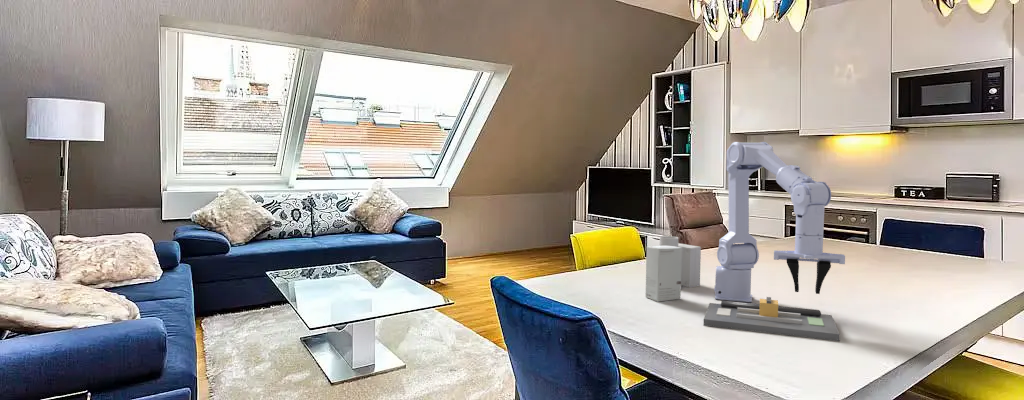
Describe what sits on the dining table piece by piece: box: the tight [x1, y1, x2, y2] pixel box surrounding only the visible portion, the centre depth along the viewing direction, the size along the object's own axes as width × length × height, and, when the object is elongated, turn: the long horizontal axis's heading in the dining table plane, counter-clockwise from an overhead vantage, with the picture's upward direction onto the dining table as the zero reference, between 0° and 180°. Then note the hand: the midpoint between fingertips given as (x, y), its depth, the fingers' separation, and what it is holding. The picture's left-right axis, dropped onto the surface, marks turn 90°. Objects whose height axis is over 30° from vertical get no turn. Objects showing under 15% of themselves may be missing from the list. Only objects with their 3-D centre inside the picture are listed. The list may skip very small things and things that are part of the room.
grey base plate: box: [703, 300, 841, 342], centre depth 134 cm, size 28×16×3 cm, turn 66°
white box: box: [659, 235, 702, 288], centre depth 174 cm, size 12×14×15 cm
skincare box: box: [644, 245, 682, 302], centre depth 157 cm, size 8×6×15 cm
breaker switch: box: [759, 296, 779, 317], centre depth 133 cm, size 4×4×4 cm
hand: (806, 292), depth 130 cm, fingers open, 4 cm apart
